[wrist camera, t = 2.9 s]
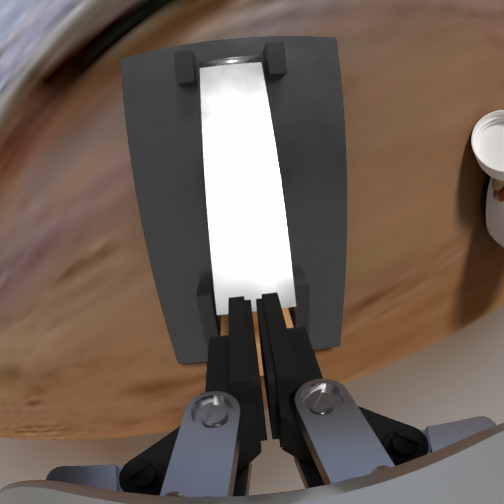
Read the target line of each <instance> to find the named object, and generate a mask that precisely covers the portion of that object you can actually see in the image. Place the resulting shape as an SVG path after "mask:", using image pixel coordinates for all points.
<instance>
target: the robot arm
mask: <svg viewBox="0 0 504 504" xmlns="http://www.w3.org/2000/svg"><path fill="white" fill-rule="evenodd" d="M256 307H257V317H258V327H259V338H260V348H261V358H262V366H263V374H264V381H265V388H266V395H267V403H268V410H269V416H270V423H271V431H272V438H273V439H279V440H280V447H282V449H283V450H284V451H286V452H288V453H290V454H291V455H293V456H294V460H295V463H296V466H297V468H298V471H299V473H300V476H301V478H302V481H303V483H304V486H305V488H306V489H301V490H295V491H288V492H280V493H272V494H262V495H252V496H248V494H249V486H250V476H251V467H252V464H251V461H252V460H253V459H255V458H256V457H257V456H258V455H259V454H260V453H261V442H260V441H264V440H267V434H266V425H265V416H264V407H263V397H262V388H261V379H260V371H259V363H258V355H257V347H256V338H255V330H254V322H253V314H252V305H251V300H245V299H244V296H240V297H230V298H228V334H229V335H223V336H211V337H210V338H209V347H208V361H207V375H206V391H205V393H202V394H200V395H198V396H196V397H195V398H193V399H192V400H191V401H190V402H189V404H188V405H187V407H186V410H185V413H184V416H183V419H182V423H181V426H179V427H178V428H177V429H175V430H174V431H173V432H171V433H170V434H168V435H167V436H166V437H164V438H163V439H161V440H160V441H158V442H157V443H155V444H154V445H153V446H151V447H150V448H148V449H147V450H145V451H144V452H142V453H141V454H139V455H138V456H136V457H135V458H133V459H132V460H130V461H129V462H128V463H127V464H125V465H124V466H120V467H118V466H117V465H116V464H108V465H92V466H61V467H56V468H55V469H53V470H52V471H50V473H49V474H48V476H47V478H46V480H29V481H21V482H16V483H12V484H9V485H7V486H5V487H3V488H2V489H1V490H0V504H504V423H503V424H499V425H496V424H495V422H494V421H492V420H491V419H490V418H487V417H483V416H482V417H474V418H470V419H465V420H460V421H456V422H450V423H445V424H439V425H434V426H427V428H426V429H425V430H419V429H417V428H415V427H413V426H410V425H407V424H404V423H401V422H398V421H395V420H393V419H390V418H388V417H385V416H382V415H379V414H377V413H374V412H372V411H369V410H367V409H364V408H361V407H359V406H357V404H356V403H355V401H354V400H353V398H352V397H351V395H350V394H349V392H348V390H347V389H346V388H345V387H344V386H343V385H342V384H340V383H339V382H337V381H334V380H330V379H323V377H322V374H321V371H320V369H319V366H318V363H317V360H316V357H315V354H314V351H313V348H312V345H311V343H310V340H309V337H308V334H307V331H306V329H305V327H304V326H301V327H294V328H287V326H286V322H285V319H284V315H283V311H282V308H281V304H280V300H279V297H278V293H277V292H276V293H267V294H262V298H260V299H256Z"/></svg>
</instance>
